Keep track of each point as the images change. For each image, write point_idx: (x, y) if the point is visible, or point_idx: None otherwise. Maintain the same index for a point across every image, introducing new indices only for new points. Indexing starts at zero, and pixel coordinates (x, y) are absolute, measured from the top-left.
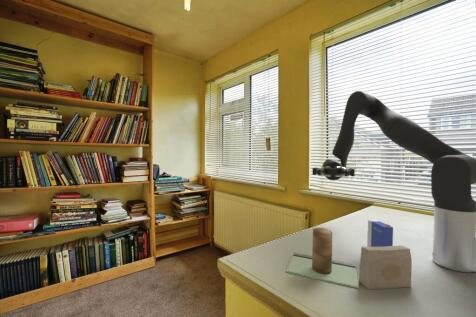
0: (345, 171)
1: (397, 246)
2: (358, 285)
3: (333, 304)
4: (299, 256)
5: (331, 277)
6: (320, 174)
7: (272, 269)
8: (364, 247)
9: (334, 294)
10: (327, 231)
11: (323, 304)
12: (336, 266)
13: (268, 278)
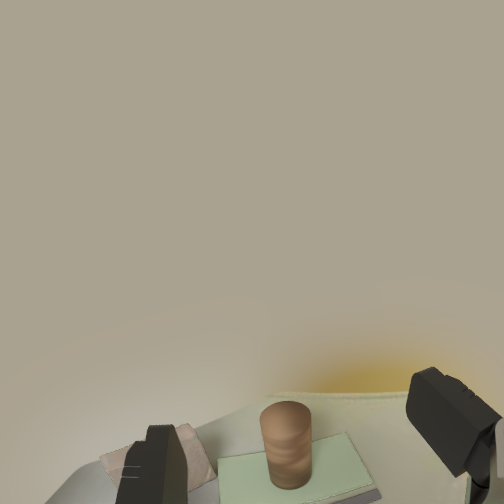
0: (170, 428)
1: (118, 463)
2: (217, 462)
3: (250, 415)
4: (361, 494)
5: (265, 460)
6: (411, 413)
7: (369, 425)
8: (191, 430)
9: (253, 431)
10: (273, 420)
11: (262, 409)
12: (264, 501)
13: (355, 406)
